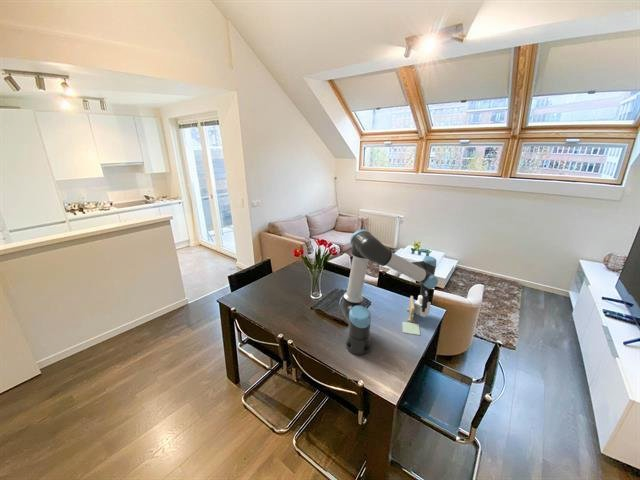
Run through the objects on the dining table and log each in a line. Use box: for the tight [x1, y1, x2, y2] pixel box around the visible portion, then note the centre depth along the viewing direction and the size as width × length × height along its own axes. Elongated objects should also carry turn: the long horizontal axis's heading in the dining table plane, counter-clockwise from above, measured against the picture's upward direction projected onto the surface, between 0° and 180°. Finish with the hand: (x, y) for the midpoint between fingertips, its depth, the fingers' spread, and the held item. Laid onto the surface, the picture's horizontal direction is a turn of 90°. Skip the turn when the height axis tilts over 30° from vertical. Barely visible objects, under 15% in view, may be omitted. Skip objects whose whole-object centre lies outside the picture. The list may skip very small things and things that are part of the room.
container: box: [414, 293, 432, 318], centre depth 172 cm, size 8×8×13 cm
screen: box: [406, 295, 416, 323], centre depth 175 cm, size 4×14×11 cm, turn 165°
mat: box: [401, 321, 421, 336], centre depth 165 cm, size 10×10×1 cm
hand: (421, 310), depth 173 cm, fingers closed on container, 10 cm apart
